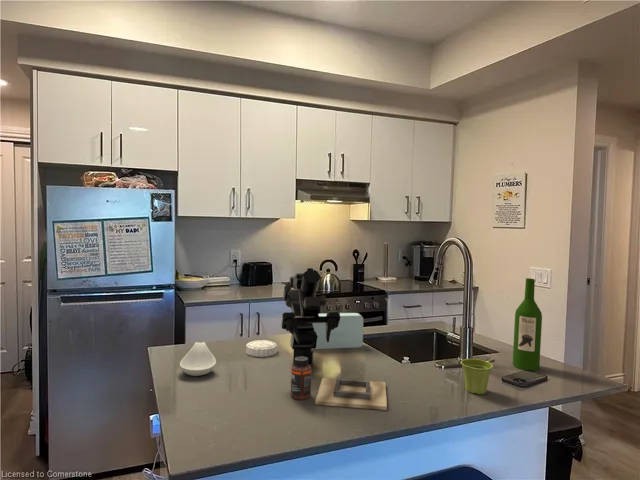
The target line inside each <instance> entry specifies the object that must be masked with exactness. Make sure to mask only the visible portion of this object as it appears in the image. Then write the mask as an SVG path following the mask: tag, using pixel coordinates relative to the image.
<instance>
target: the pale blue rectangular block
mask: <svg viewBox="0 0 640 480" xmlns="http://www.w3.org/2000/svg"><path fill="white" fill-rule="evenodd" d="M339 313H340V321H339V325H338V327H337V328H335V329H334V330H331V332H330V338H329V342H328V343H327V340H326V324H325V323H312V324H313V327H314V331H316V334H317V335H318V338H317V343H316V349H314V348H312V350H325V349H326V350H327V349H352V348H361V347H362V346H363V342H364V317H363V316H362V315H361V314H360V313H358V312H339ZM326 315H327V313H320V314H319V316H326Z"/></svg>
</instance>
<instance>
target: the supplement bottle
mask: <svg viewBox="0 0 640 480" xmlns="http://www.w3.org/2000/svg"><path fill="white" fill-rule="evenodd" d="M290 374H291V375H290V395H291V397H292V398H293V399H297V400H306V399H309V397H311V396H312V395H311V394H312V365H311V366H310V365H309V364H308V358H307V357H304V356H299V357H296V358H295V364H294V365H293V366H292V365H291V369H290Z"/></svg>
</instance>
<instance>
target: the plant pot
mask: <svg viewBox="0 0 640 480" xmlns="http://www.w3.org/2000/svg"><path fill="white" fill-rule="evenodd" d="M460 364H461V366H462V369H463V378H464V389H465V390H466V391H467V392H468V393H470V394H477V395H484V394H486V393H487V391H488V390H487V389H488V383H489V379H490V374H491V371H492V369H493V367H494V366H493V364H492V363H491V362H489V361H487V360H483V359H477V358H465V359H461V361H460Z"/></svg>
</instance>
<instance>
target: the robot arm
mask: <svg viewBox="0 0 640 480" xmlns="http://www.w3.org/2000/svg"><path fill="white" fill-rule="evenodd" d="M288 281H289V282H288V283H287V284H286V285H284V288H283V295H282V296H283V297H282V298H283V302H284V303H285V306H286V307H288V308H290V309H291V312H290V311H289V312H288V311H287V312H283V313H282V314H281V321H280V323H281V325H280V327H281V329H282V330H285V332H289V333H290V334H291V336H290V340H289V341H290V343H289V344H290V347H291V349H292V350H293V356H292V357H293V360H292V361H293V362H292V364H291V367H292V366H293V365H294V364H295V358H296V357H299V356H304V357H307V358H308V364H309V365H310V366H311V367H312V365H313V364H314V354H315V353H314V350H317V349H316V343H317V338H318V335H317V334H316V331H314V327H313V324H312V323H325V324H326V340H327V343H328V342H329V338H330V332H331V330H334V329H335V328H337V327H338V325H339V321H340V313H341V312H339V311H327V312H326V314H327V315H326V316H319V314H321V308H322V307H325V306H326V305H327V298H326V296H325V295H319V296H316V293H317V292H318V290H319V285H320V281H321V275H320V273H319V272H318V271H316V270H314V267H313V268H310V267H308V268H306V271H304V273H303V272H298V273H296V274H295V275H294V276H290V277H289V280H288ZM293 288H294V289H293ZM312 348H314V349H312Z"/></svg>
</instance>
